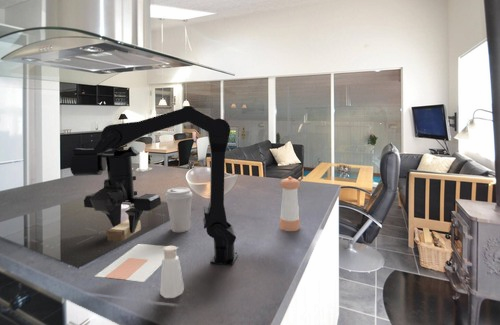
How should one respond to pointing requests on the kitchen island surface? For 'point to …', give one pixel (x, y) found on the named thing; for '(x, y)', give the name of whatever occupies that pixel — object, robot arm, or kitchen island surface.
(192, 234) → the kitchen island surface
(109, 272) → the mat
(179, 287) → the pepper shaker
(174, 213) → the coffee cup
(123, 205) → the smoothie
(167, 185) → the kitchen island surface
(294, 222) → the salt shaker
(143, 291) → the kitchen island surface
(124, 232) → the wooden block
